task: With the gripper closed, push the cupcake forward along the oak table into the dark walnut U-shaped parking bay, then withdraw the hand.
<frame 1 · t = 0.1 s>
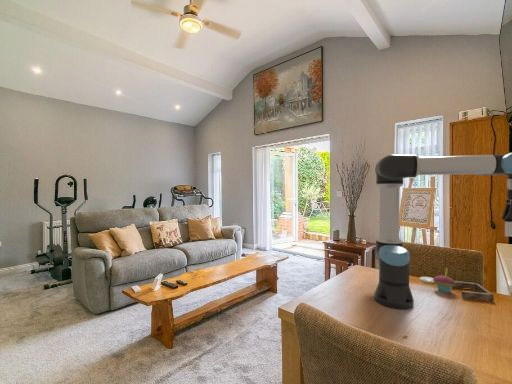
cupcake: (443, 291, 126), on the table
white round domed disc: (428, 280, 139), on the table
bay: (468, 293, 122), on the table
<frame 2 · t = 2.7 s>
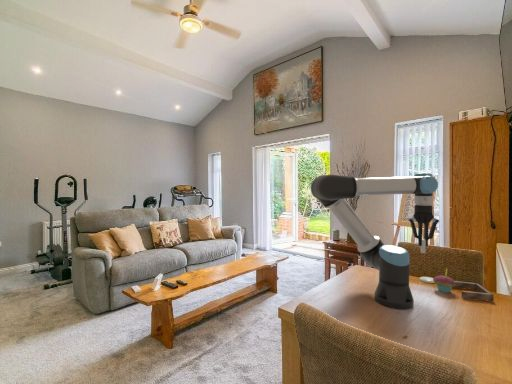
hand: (422, 252, 128), 18 cm above the table, fingers closed
nothing on the table moved.
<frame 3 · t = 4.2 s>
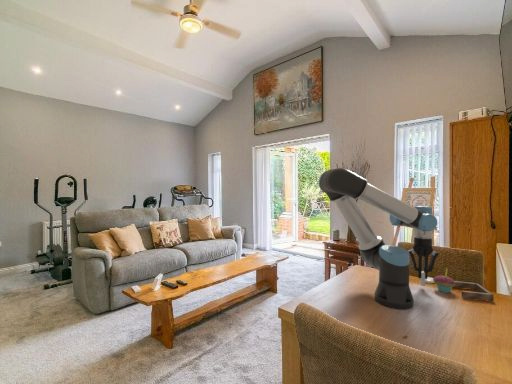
hand: (422, 284, 128), 2 cm above the table, fingers closed
nothing on the table moved.
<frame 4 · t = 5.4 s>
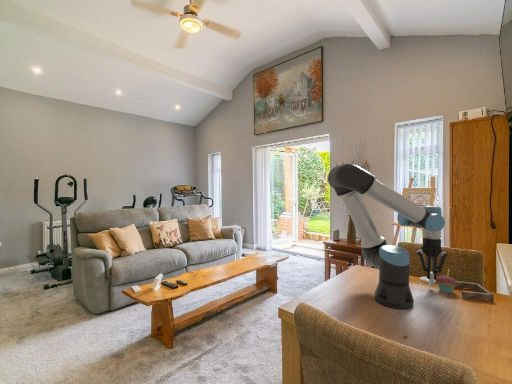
hand: (431, 285, 127), 2 cm above the table, fingers closed
cupcake: (445, 291, 125), on the table, touching gripper
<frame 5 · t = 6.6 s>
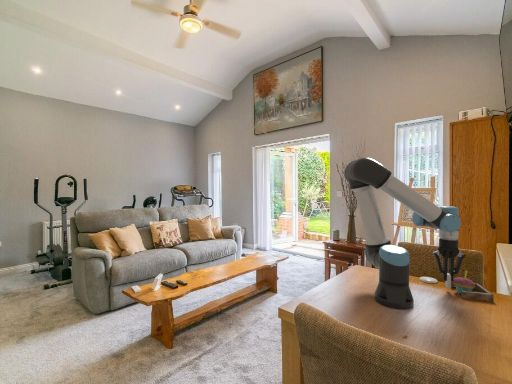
hand: (447, 287, 125), 2 cm above the table, fingers closed
cupcake: (462, 293, 123), on the table, touching gripper
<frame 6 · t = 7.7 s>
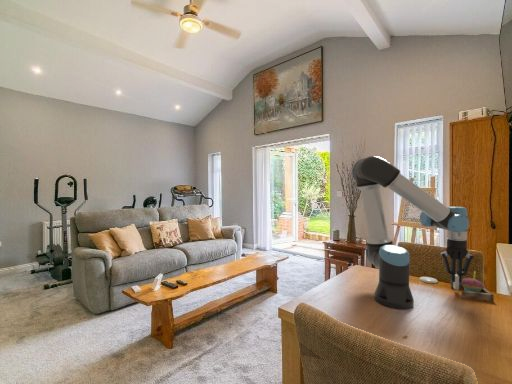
hand: (455, 288, 124), 2 cm above the table, fingers closed
cupcake: (471, 294, 122), on the table, touching gripper
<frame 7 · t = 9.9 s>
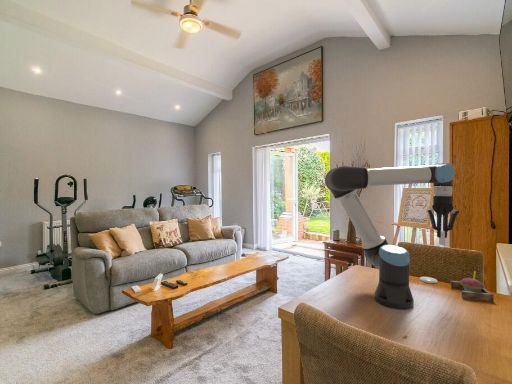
hand: (441, 244, 125), 22 cm above the table, fingers closed
cupcake: (471, 294, 122), on the table
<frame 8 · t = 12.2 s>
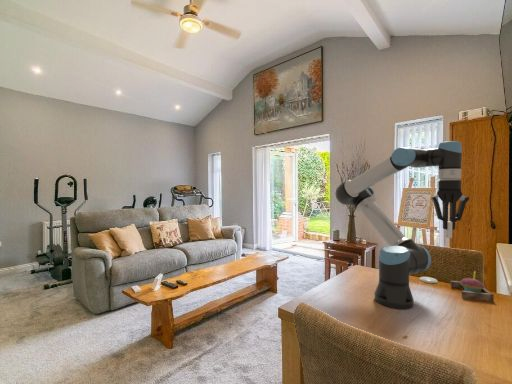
hand: (448, 237, 107), 29 cm above the table, fingers closed
nothing on the table moved.
at the end: cupcake inside the target area on the bay (0.4 cm from its centre), point 0.0 cm above the bay's base; cupcake tilted 0° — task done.
